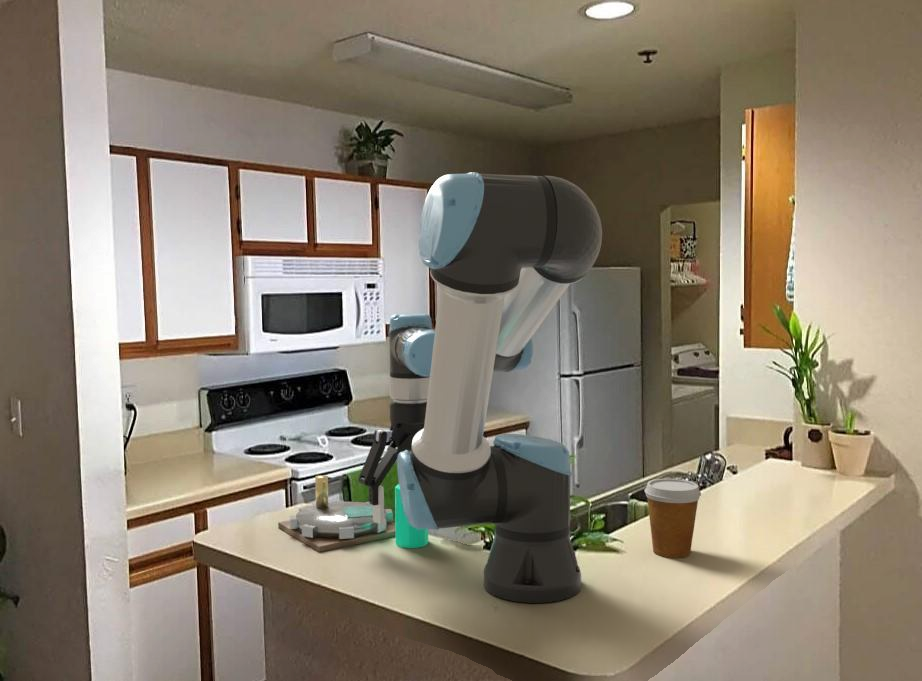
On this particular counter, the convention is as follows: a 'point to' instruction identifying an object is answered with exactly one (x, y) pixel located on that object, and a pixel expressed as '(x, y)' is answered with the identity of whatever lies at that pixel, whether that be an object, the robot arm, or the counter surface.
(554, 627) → the counter surface
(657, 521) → the disposable coffee cup
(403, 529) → the candle
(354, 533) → the turntable
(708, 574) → the counter surface
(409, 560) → the counter surface
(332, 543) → the base board
